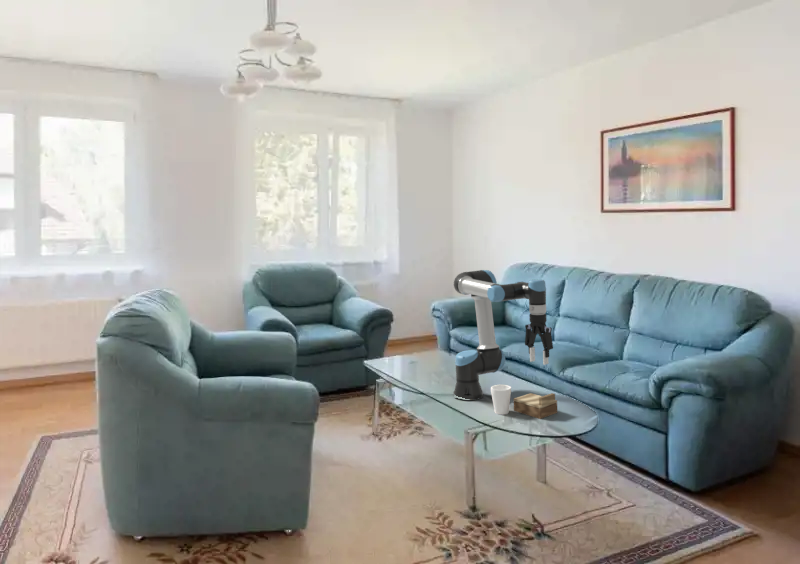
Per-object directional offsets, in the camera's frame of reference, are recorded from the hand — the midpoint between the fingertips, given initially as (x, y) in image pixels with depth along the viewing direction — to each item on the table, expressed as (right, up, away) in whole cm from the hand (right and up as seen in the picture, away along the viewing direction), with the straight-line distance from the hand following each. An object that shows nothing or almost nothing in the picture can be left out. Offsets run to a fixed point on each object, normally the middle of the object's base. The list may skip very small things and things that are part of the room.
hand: (539, 362), depth 276 cm
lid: (-1, -19, +5) cm, 20 cm away
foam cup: (-16, -26, +7) cm, 31 cm away
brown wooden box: (0, -25, +5) cm, 25 cm away
